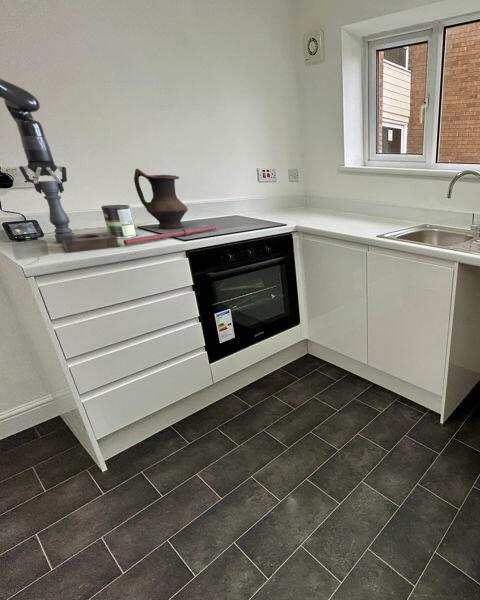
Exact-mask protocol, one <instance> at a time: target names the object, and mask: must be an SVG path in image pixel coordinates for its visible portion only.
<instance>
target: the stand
mask: <svg viewBox="0 0 480 600" xmlns="http://www.w3.org/2000/svg"><path fill="white" fill-rule="evenodd" d="M60 238H61V241H62V243H61V244H62V247H64V249H65V250H66V252H67V253H76V252H84V251H94V250H102V249H111V248H119V247H120V245H119V241H118V239H117V238H116V237H115V236H114V235H112V234H111V233H109V232H108V231H102V232H90V233H80V234H79V233H77V234H74V235H66V236H60Z"/></svg>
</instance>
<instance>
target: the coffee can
mask: <svg viewBox="0 0 480 600" xmlns="http://www.w3.org/2000/svg"><path fill="white" fill-rule="evenodd" d="M100 208H101V210H102V214H103V217H104V221H105V222H104V223H105V225H106V229H107V232H109V233H111V234H112V235H114V236H115V237H116V238H117V240H119V239H132V238H136V236H137V233H136V229H135V226H134V221H133V217H132V212H131V209H130V205H128V204H107V205H101V206H100Z"/></svg>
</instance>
